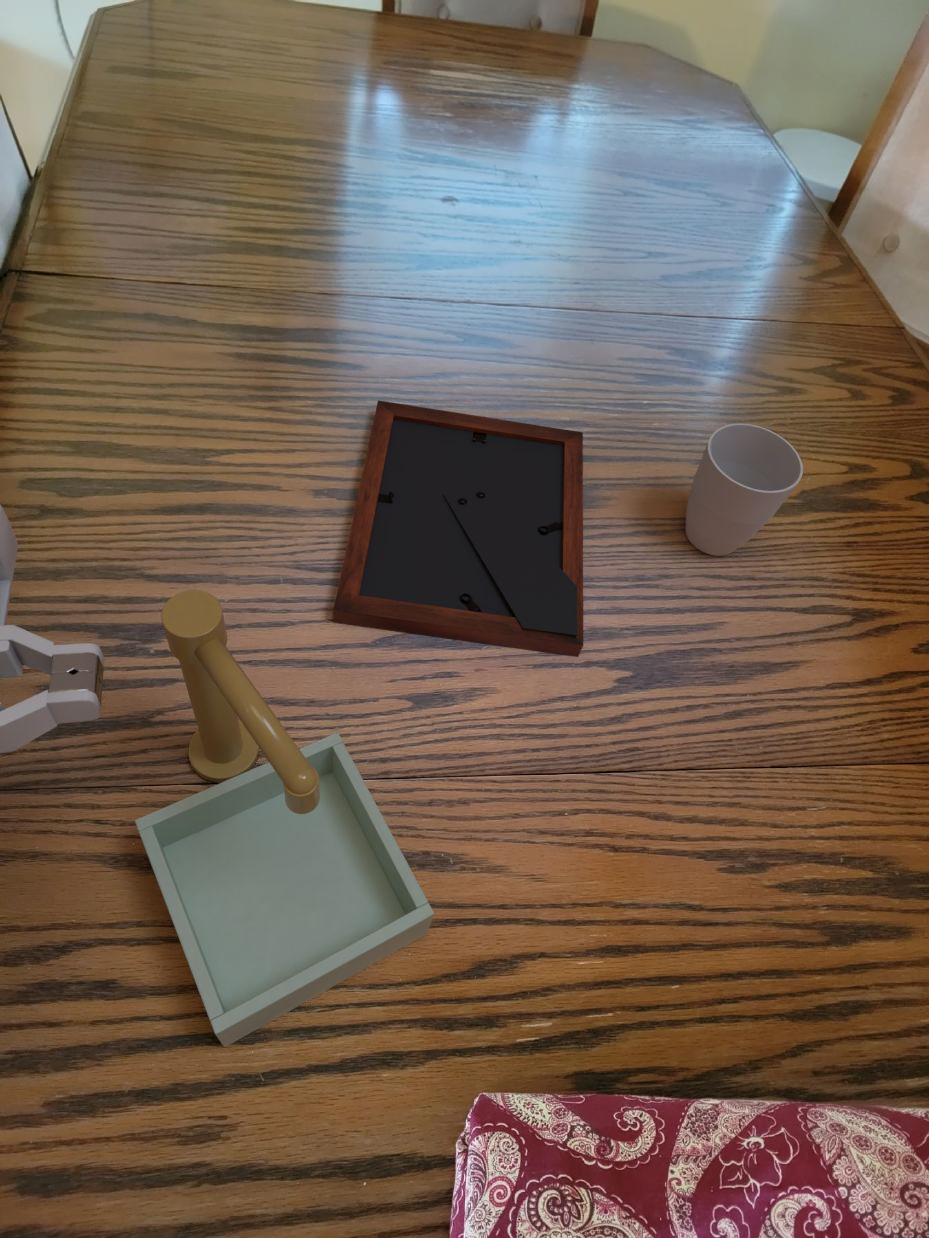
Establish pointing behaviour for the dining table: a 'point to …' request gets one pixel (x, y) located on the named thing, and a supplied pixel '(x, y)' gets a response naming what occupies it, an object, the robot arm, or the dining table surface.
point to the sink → (281, 889)
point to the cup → (739, 486)
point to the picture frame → (467, 531)
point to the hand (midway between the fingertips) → (100, 680)
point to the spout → (238, 690)
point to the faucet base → (216, 730)
